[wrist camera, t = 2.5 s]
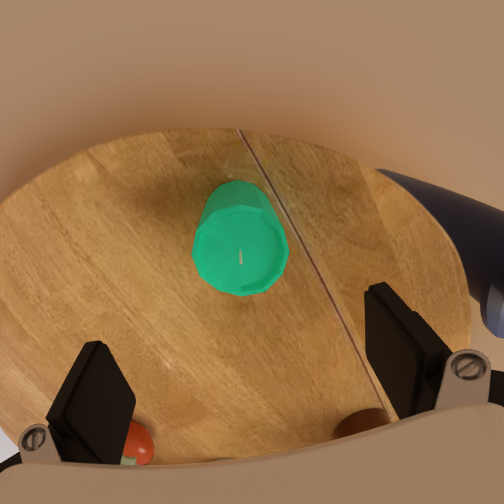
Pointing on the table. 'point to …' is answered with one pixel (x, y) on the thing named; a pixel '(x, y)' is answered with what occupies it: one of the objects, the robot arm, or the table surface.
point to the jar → (361, 422)
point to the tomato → (137, 446)
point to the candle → (239, 240)
